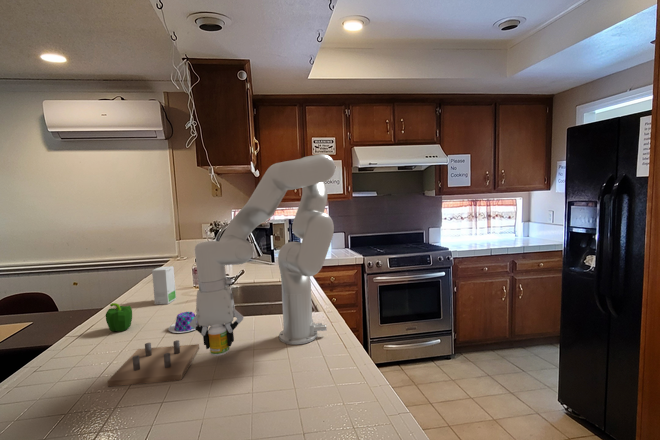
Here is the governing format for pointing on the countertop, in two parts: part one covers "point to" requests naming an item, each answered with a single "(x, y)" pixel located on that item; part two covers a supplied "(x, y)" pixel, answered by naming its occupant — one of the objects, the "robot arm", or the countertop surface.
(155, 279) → the skincare box
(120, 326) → the bell pepper
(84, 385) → the countertop surface
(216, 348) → the supplement bottle
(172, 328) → the pudding
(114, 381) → the peg cradle
